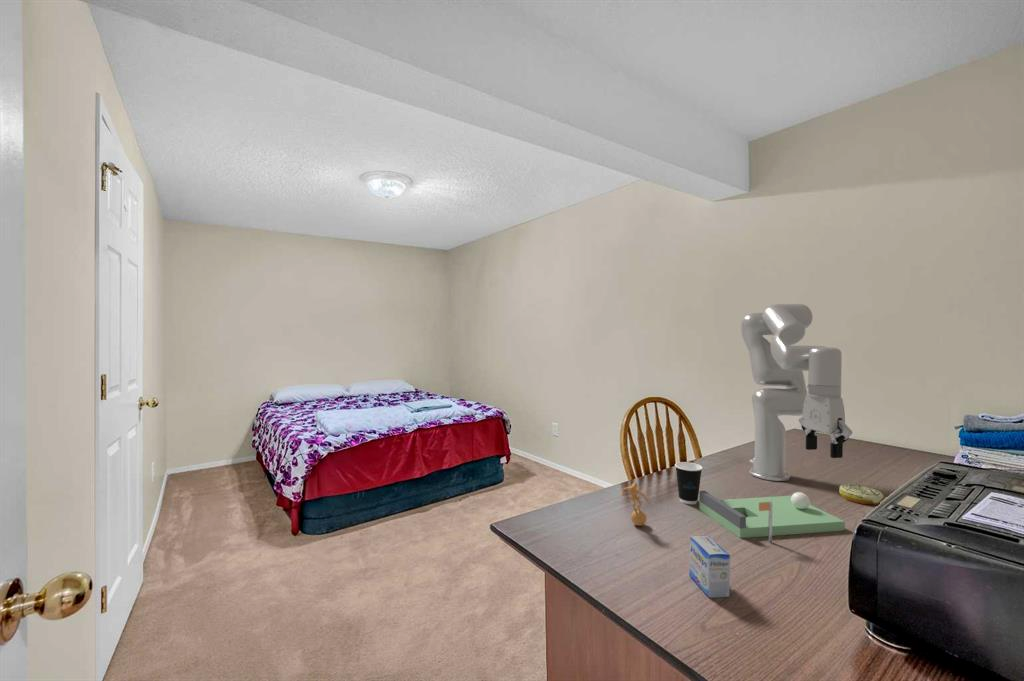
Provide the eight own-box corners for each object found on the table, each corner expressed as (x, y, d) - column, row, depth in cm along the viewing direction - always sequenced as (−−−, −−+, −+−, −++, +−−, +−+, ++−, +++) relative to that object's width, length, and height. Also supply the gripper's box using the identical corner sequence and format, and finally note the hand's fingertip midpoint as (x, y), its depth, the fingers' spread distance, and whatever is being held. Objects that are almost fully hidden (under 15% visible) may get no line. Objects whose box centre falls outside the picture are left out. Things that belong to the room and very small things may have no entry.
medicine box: (688, 576, 92) (688, 535, 92) (708, 575, 93) (709, 535, 92) (708, 598, 84) (708, 554, 84) (730, 597, 85) (730, 553, 84)
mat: (699, 509, 127) (699, 490, 127) (791, 503, 131) (791, 485, 131) (739, 538, 109) (740, 516, 109) (844, 530, 113) (845, 510, 113)
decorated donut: (885, 509, 127) (885, 497, 127) (839, 501, 133) (840, 489, 133) (881, 498, 136) (881, 486, 135) (838, 491, 142) (838, 479, 142)
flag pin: (757, 542, 107) (758, 502, 107) (770, 541, 107) (770, 501, 107) (759, 543, 106) (760, 503, 106) (772, 542, 107) (773, 502, 106)
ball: (786, 505, 123) (787, 490, 123) (801, 505, 124) (801, 489, 124) (799, 512, 119) (799, 496, 119) (814, 511, 119) (814, 495, 119)
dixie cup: (689, 495, 138) (689, 460, 138) (708, 504, 130) (708, 468, 130) (668, 498, 135) (669, 463, 135) (687, 508, 128) (687, 471, 127)
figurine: (656, 528, 115) (656, 483, 114) (644, 535, 111) (644, 488, 110) (629, 518, 121) (629, 475, 121) (616, 524, 117) (617, 480, 117)
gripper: (788, 387, 130) (787, 445, 130) (840, 396, 112) (839, 463, 113) (810, 387, 131) (809, 444, 131) (865, 395, 114) (864, 462, 114)
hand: (823, 453), depth 122 cm, fingers open, 7 cm apart
